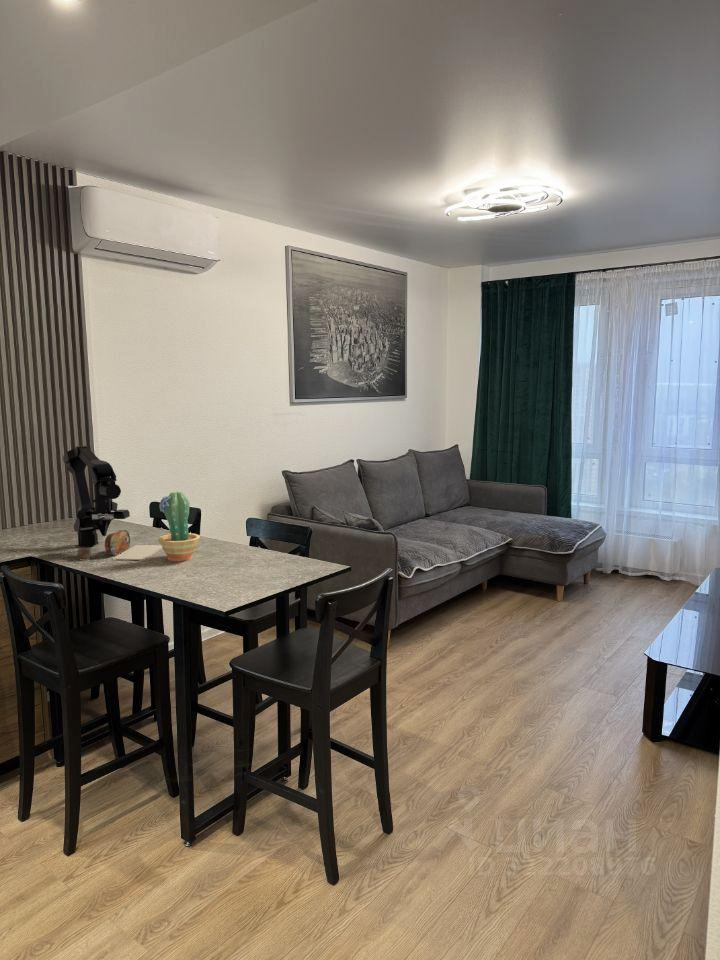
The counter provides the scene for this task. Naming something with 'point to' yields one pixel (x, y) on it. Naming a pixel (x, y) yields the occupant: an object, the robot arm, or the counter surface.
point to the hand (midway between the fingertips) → (104, 536)
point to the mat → (138, 552)
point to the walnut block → (84, 553)
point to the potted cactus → (177, 528)
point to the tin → (117, 542)
